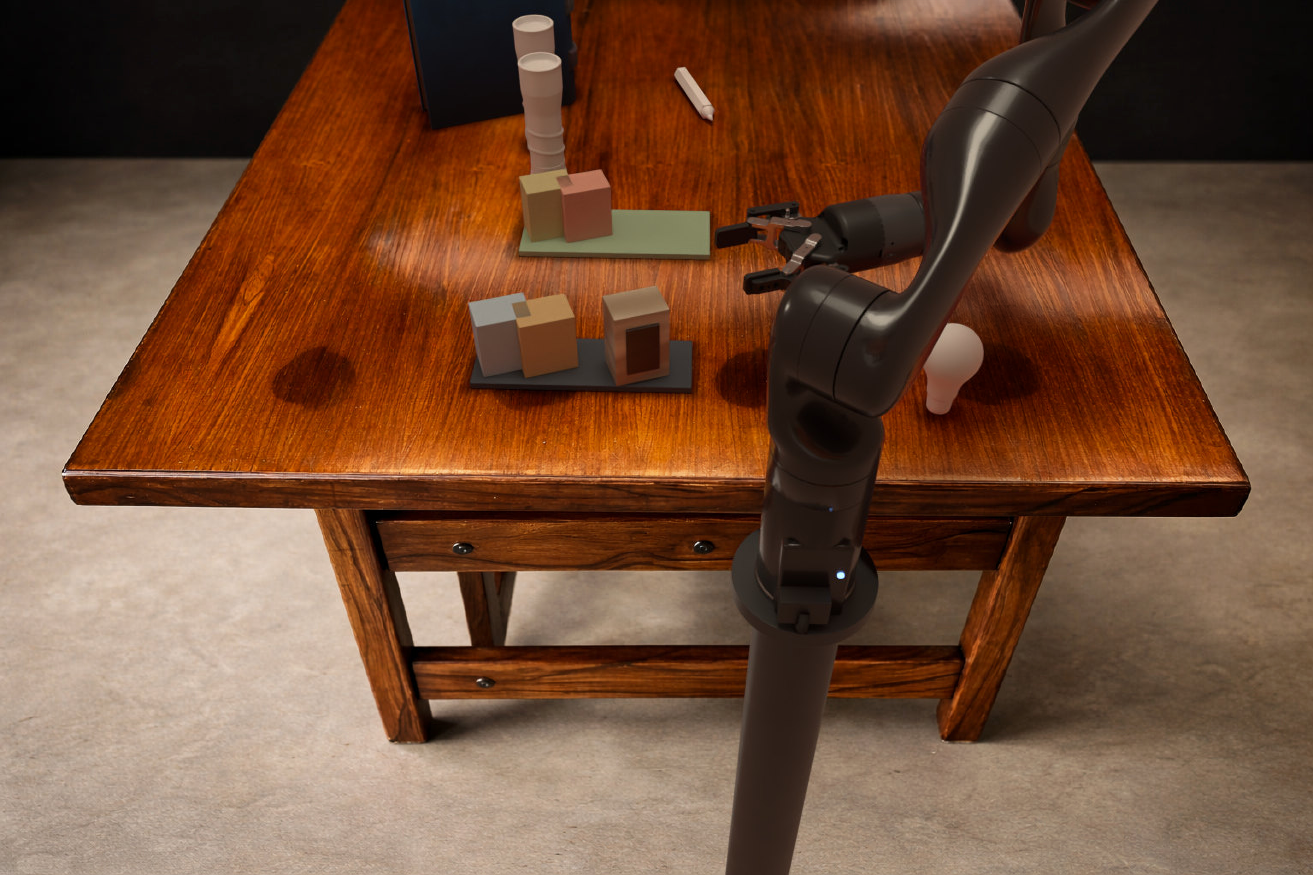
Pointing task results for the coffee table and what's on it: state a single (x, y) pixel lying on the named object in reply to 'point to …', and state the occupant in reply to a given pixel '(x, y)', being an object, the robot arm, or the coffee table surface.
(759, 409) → the coffee table surface
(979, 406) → the coffee table surface
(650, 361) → the tall taupe block
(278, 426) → the coffee table surface
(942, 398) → the lightbulb
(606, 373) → the blocks on base plate
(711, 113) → the marker
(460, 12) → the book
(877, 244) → the robot arm
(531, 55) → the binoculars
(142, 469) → the coffee table surface
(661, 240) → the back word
